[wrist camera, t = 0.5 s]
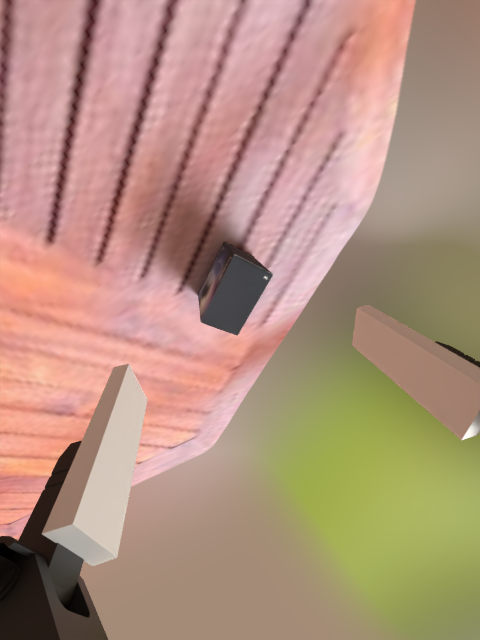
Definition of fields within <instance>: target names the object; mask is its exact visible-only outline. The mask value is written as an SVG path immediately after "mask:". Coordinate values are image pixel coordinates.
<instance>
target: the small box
mask: <svg viewBox="0 0 480 640" xmlns="http://www.w3.org/2000/svg"><path fill="white" fill-rule="evenodd" d="M272 276H273V273H271V272H270V271H269V270H267V269H266V268H265V267H264V266H263V265H262V264H261V263H260V262H258V261H257V260H256V259H255V257H254V256H252V255H249V254H248V253H246V252H243V251H241V250H239V249H238V248H236V247H234V246H233V245H231V244H228V243H226V242H223V244H222V246H221V248H220V250H219V252H218V254H217V256H216V258H215V260H214V262H213V265H212V267H211V269H210V271H209V273H208V275H207V277H206V279H205V281H204V283H203V285H202V287H201V290H200V292H199V294H198V299H199V308H200V319H201V322H202V323H204V324H207V325H209V326H212V327H215V328H217V329H220V330H223V331H226V332H229V333H232V334H234V335H238V334H239V332H240V330H241V329H242V327H243V325H244V324H245V322H246V320H247V319H248V317H249V315H250V314H251V312H252V310H253V308H254V307H255V305H256V303H257V302H258V300H259V298H260V296H261V295H262V293H263V291H264V290H265V288H266V286H267V284H268V283H269V281H270V279H271V278H272Z"/></svg>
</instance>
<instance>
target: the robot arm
mask: <svg viewBox="0 0 480 640" xmlns="http://www.w3.org/2000/svg"><path fill="white" fill-rule="evenodd" d="M352 345H353V346H354V347H355V348H356V349H357V350H358V351H359V352H361V353H362V354H363V355H364V356H365V357H366V358H367V359H369V360H370V361H371V362H372V363H373V364H374V365H376V366H377V367H378V368H379V369H380V370H381V371H382V372H384V373H385V374H386V375H387V376H388V377H389V378H391V379H392V380H393V381H394V382H395V383H396V384H397V385H399V386H400V387H401V388H402V389H403V390H404V391H406V392H407V393H408V394H409V395H410V396H411V397H412V398H414V399H415V400H416V401H417V402H418V403H419V404H421V405H422V406H423V407H424V408H425V409H426V410H427V411H429V412H430V413H431V414H432V415H433V416H434V417H435V418H437V419H438V420H439V421H440V422H442V424H444V425H445V426H446V427H447V428H448V429H449V430H450V431H452V432H453V433H454V434H455V435H456V436H457V437H459V438H460V439H461V440H463V439H466V438H469V437H472V436H475V435H478V434H479V432H480V362H479V361H475V359H473V358H471V357H470V356H468V355H464V353H462V352H460V351H459V350H457V349H455V348H453V347H451V346H449V345H445V344H443V343H440V342H433V341H431V340H430V339H428V338H426V337H425V336H423V335H421V334H419V333H418V332H415V331H414V330H412V329H410V328H409V327H407V326H405V325H403V324H402V323H400V322H398V321H396V320H395V319H393V318H391V317H389V316H388V315H386V314H384V313H382V312H380V311H379V310H377V309H375V308H373V307H372V306H370V305H366V306H363V307H358V308H357V312H356V319H355V326H354V334H353V341H352ZM147 400H148V399H147V398H146V396H145V394H144V392H143V390H142V388H141V386H140V384H139V382H138V380H137V378H136V376H135V375H134V373H133V371H132V369H131V367H130V365H129V364H126V365H122V366H118V367H114V368H113V370H112V373H111V375H110V377H109V380H108V382H107V384H106V387H105V389H104V391H103V393H102V396H101V398H100V400H99V403H98V405H97V407H96V410H95V412H94V414H93V417H92V419H91V421H90V423H89V426H88V428H87V430H86V433H85V435H84V437H83V440H82V441H79V442H75V443H71V444H70V445H69V447H68V448H67V449H66V450H65V452H64V453H63V454H62V455H61V456H60V458H59V459H58V461H57V463H56V465H55V467H54V469H53V471H52V473H51V474H52V476H51V477H50V478H49V480H48V482H47V484H46V486H45V490H43V492H42V494H41V496H40V498H39V500H38V502H37V504H36V506H35V508H34V510H33V512H32V514H31V516H30V518H29V520H28V522H27V524H26V526H25V528H24V530H23V532H22V534H21V536H20V538H19V540H18V541H17V540H16V539H14V538H12V537H10V536H1V537H0V640H108V638H107V636H106V633H105V631H104V628H103V626H102V624H101V621H100V619H99V616H98V614H97V612H96V609H95V607H94V604H93V602H92V600H91V597H90V595H89V592H88V590H87V588H86V585H85V583H84V581H83V579H82V578H81V577H80V571H81V567H82V564H83V561H85V562H87V563H88V564H90V565H91V566H94V565H97V564H100V563H103V562H106V561H109V560H112V559H115V558H117V555H118V549H119V545H120V540H121V534H122V529H123V524H124V519H125V514H126V508H127V503H128V498H129V493H130V488H131V483H132V477H133V472H134V467H135V462H136V457H137V452H138V446H139V441H140V436H141V431H142V426H143V421H144V415H145V410H146V405H147Z"/></svg>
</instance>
